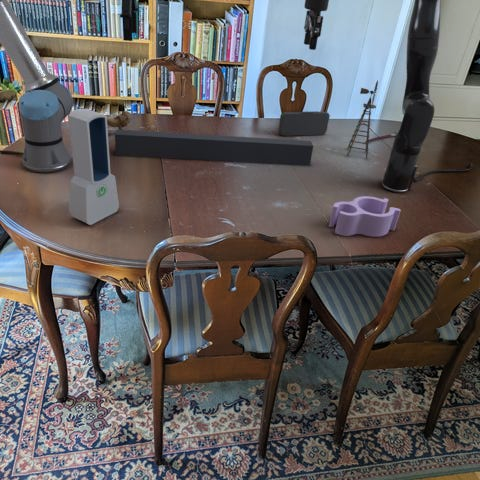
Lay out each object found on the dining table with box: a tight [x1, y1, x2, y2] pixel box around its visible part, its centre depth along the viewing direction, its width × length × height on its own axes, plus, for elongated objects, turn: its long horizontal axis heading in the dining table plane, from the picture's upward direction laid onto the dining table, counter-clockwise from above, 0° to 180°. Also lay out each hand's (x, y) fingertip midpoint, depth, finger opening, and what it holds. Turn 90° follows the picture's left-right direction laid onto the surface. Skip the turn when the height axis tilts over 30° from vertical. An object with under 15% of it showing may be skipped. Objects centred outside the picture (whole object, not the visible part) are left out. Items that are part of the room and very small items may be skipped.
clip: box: [328, 195, 401, 238], centre depth 141 cm, size 20×12×7 cm, turn 109°
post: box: [114, 128, 314, 166], centre depth 175 cm, size 73×5×8 cm, turn 95°
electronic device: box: [67, 108, 120, 226], centre depth 127 cm, size 12×8×30 cm, turn 148°
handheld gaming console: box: [278, 110, 331, 137], centre depth 205 cm, size 23×3×10 cm, turn 108°
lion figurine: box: [107, 110, 132, 130], centre depth 186 cm, size 15×5×9 cm, turn 110°
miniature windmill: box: [346, 80, 379, 160], centre depth 186 cm, size 9×8×30 cm
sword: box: [368, 132, 397, 143], centre depth 214 cm, size 31×3×1 cm, turn 126°
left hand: (130, 36), depth 152 cm, fingers open, 13 cm apart
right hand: (309, 46), depth 158 cm, fingers open, 8 cm apart
